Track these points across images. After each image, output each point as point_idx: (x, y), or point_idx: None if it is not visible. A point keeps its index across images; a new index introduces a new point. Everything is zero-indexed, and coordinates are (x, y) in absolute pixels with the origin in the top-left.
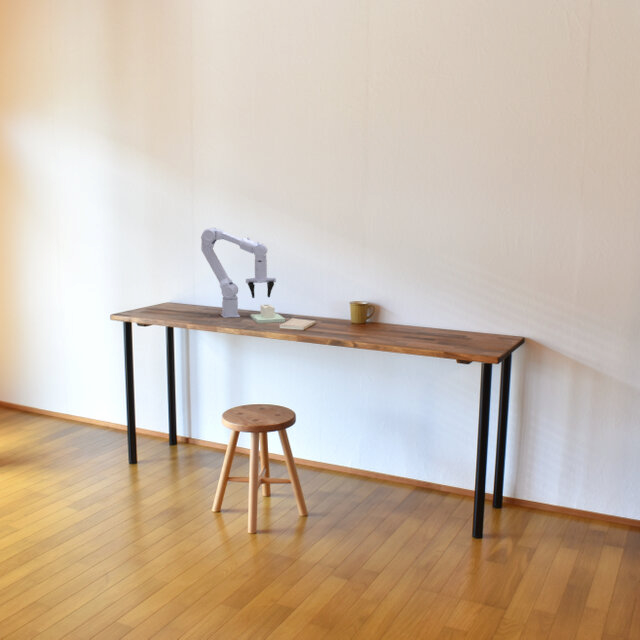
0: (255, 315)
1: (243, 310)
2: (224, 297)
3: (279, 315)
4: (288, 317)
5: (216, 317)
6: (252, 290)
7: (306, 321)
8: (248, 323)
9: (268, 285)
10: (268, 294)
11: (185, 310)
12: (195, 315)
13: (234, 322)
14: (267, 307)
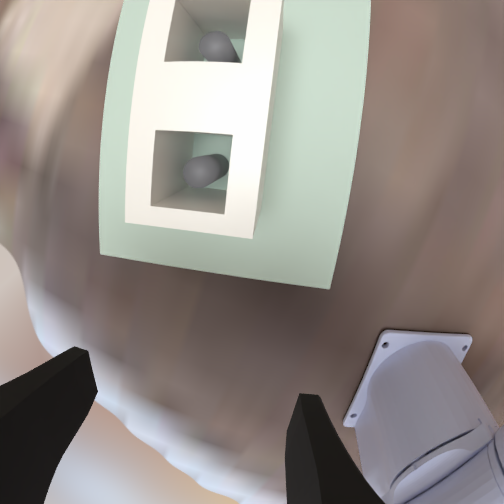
0: (312, 216)
1: (255, 472)
2: None
3: (106, 133)
4: (53, 180)
5: (482, 361)
6: (357, 487)
7: (26, 19)
8: (427, 55)
9: (4, 486)
10: (68, 380)
11: None
12: (498, 418)
13: (495, 150)
14: (212, 65)
